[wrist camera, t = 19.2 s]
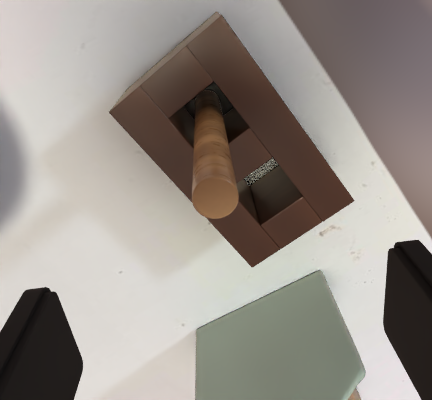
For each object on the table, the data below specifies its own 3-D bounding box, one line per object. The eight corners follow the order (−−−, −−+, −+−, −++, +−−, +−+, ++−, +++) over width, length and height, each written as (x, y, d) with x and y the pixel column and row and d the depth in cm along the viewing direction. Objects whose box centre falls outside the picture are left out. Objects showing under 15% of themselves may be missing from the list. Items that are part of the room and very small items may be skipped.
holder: (216, 11, 34) (221, 14, 27) (327, 164, 40) (354, 200, 33) (126, 89, 37) (108, 112, 29) (243, 222, 43) (252, 268, 36)
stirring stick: (193, 91, 37) (188, 180, 19) (218, 88, 37) (236, 174, 19) (197, 115, 38) (195, 222, 20) (221, 112, 38) (241, 216, 20)
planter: (228, 369, 52) (243, 561, 34) (194, 329, 49) (192, 517, 31) (348, 315, 49) (432, 496, 31) (320, 268, 46) (397, 440, 28)
